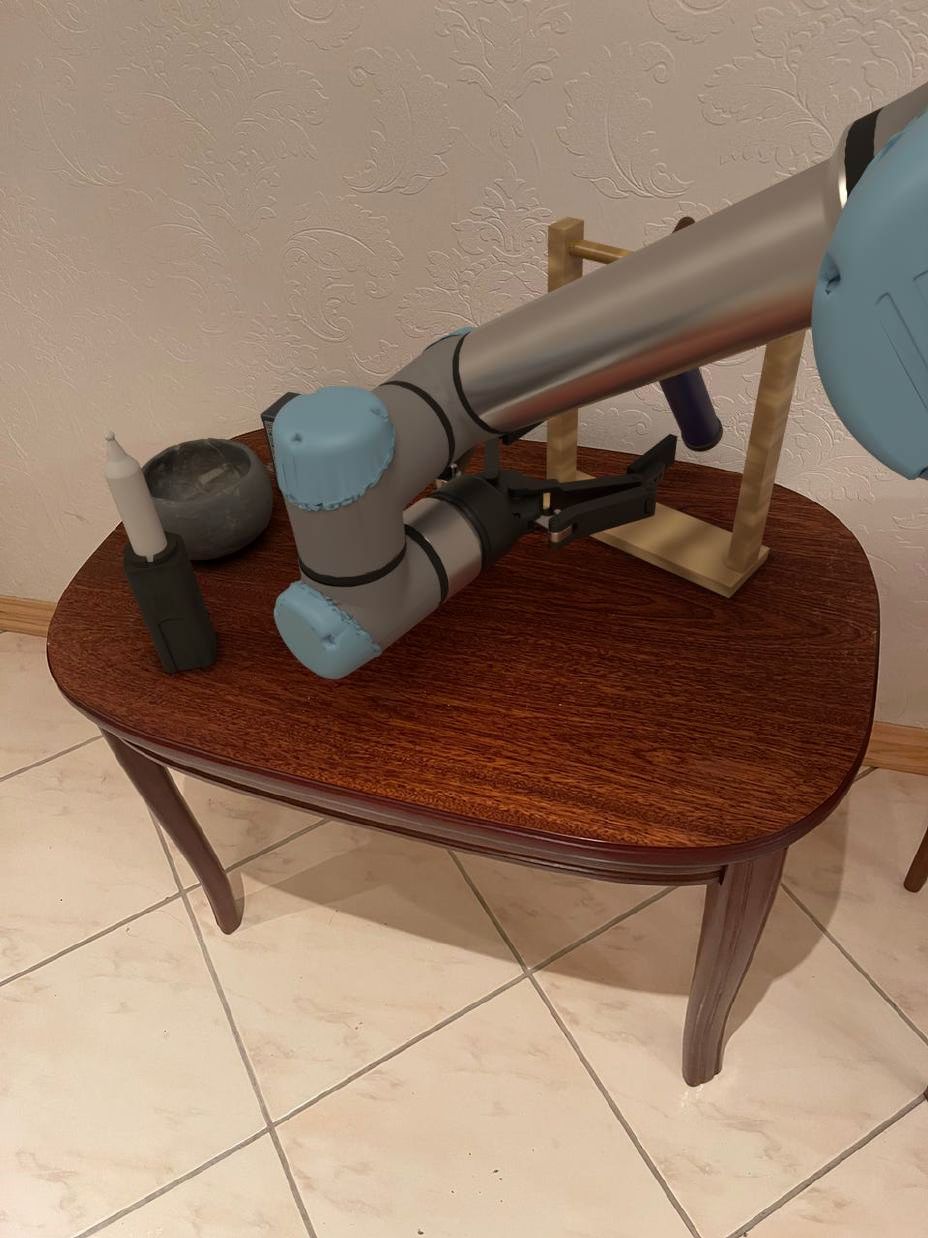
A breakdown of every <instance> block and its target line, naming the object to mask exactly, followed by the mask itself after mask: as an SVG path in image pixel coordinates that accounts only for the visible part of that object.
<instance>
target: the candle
mask: <svg viewBox="0 0 928 1238" xmlns="http://www.w3.org/2000/svg"><path fill="white" fill-rule="evenodd" d="M103 438H104V440H105V441H106V461H105V464H104V466H103V476H104V478H105V481H106V483H107V486H108V488H109V491H110V493H111V496H112V499H113V501H114V504H115V506H116V509H117V511H118V514H119V517H120V520H121V522H122V524H123V527H124V529H125V532H126V535H127V537H128V539H129V541H128V543H126V545H125V547H124V549H123V550H124V555H123V561H122V562H123V563H122V570H123V573H124V575H125V578H126V580H127V582H128V584H129V587H130V589H131V592H132V595H133V596H134V599H135V602H136V604H137V607H138V609H139V612H140V614H141V616H142V619H143V621H144V624H145V626H146V628H147V631H148V633H149V636H150V638H151V641H152V643H153V645H154V649H155V650H156V653H157V655H158V658H159V660H160V663H161V665H162V668H163V670H164V672H166V673H167V674H172V675H173V674H178V672H183V671H190V670H194V669H195V670H196V669H199V668H202V669H206V668H209V667H211V666H212V665H214V664H215V663H216V661H217V635H216V633H215V630H214V626H213V624H212V621H211V618H210V615H209V612H208V609H207V606H206V602H205V600H204V597H203V594H202V592H201V591H202V590H201V589H200V586H199V582H198V580H197V576H196V574H195V571H194V568H193V566H192V562H191V560H190V559H189V556H188V553H187V550H186V547H185V544H184V541H183V538H182V537H181V535H179V534H176V533H170V532H167V531H163V529H162V526H161V523H160V520H159V517H158V515H157V512H156V509H155V506H154V503H153V501H152V498H151V495H150V492H149V489H148V487H147V484H146V481H145V478H144V475H143V473H142V470H141V468H142V467H141V464H140V463H139V461H138V460H137V459H136V458H135V457H133V456H131V455H130V454H129V453H127V452H126V451H125V449H124V448H123V447H122V446H121V444H120V443H119V442H118V440H117V439H116V434H115V433H114V432H113V431H111V430H106V431H105V432H104V433H103Z"/></svg>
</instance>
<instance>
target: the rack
mask: <svg viewBox="0 0 928 1238" xmlns="http://www.w3.org/2000/svg"><path fill="white" fill-rule="evenodd" d="M584 235H585V220H584V219H579V218H575V217H572V216H565V217H563V218H561V219H559V220H557V221H555V222H553V223H551V224H549V225H548V226H547V293H549V292H551V291H554V290H556V289H558V288H560V287H562V286H564V285H566V284H568V283H570V282H572V281H574V280H577V279H579V278H581V277H583V274H584V273H583V272H584V271H583V269H584V260H586V261H592V262H594V263H597V264H603V265H605V266H606V265H608V264H610V263H612V262H614V261H616V260H618V259H620V258H622V257H624V256H627V255H629V254H631V253H633V252H635V251H633V250H630V249H626V248H620V247H617V246H612V245H608V244H604V243H599V242H596V241H591V240H587V239H585V238H584V237H585V236H584ZM806 333H807V330H806V331H803V332H800V333H797V334H795V335H792V336H789V337H786V338H783V339H780V340H777V341H774V342H771V343H768V344H765V351H764V356H763V362H762V367H761V372H760V377H759V378H760V379H759V384H758V388H757V389H758V390H757V395H756V401H755V406H754V410H753V418H752V421H751V422H752V423H751V428H750V433H749V439H748V445H747V450H746V456H745V462H744V467H743V472H742V478H741V483H740V489H739V495H738V500H737V505H736V511H735V515H734V516H735V517H734V521H733V528H732V532H731V531H729V530H727V529H723V528H721V527H719V526H716V525H714V524H712V523H709V522H706V521H704V520H701V519H699V518H696V517H695V516H691V515H689V514H686V513H684V512H681V511H680V510H676V509H674V508H671V507H670V506H667V505H664V504H662V503H659V502H657V501H656V509H655V515H654V516H652V517H649V518H645V519H642V520H639V521H635V522H632V523H629V524H625V525H622V526H619V527H615V528H612V529H609V530H605V531H602V532H599V533H595V534H592V535H589V536H588V537H591V538H593V539H595V540H597V541H600V542H602V543H604V544H607V545H609V546H611V547H613V548H615V549H618V550H620V551H621V552H624V553H627V554H629V555H631V556H634V557H635V558H638V559H640V560H643V561H645V562H647V563H649V564H651V565H654V566H656V567H658V568H659V569H662V570H665V571H667V572H670V573H672V574H674V575H676V576H678V577H681V578H683V579H685V580H687V581H690V582H691V583H694V584H696V585H698V586H700V587H702V588H705V589H707V590H709V591H711V592H714V593H716V594H719V595H721V596H723V597H725V598H728V599H730V598H731V597H732V596H733V595H734V594H735V593H736V592H737V590H739V589H740V588H741V587H742V585H743V584H744V583H745V582H746V581H747V580H748V579H750V577H751V576H752V575H753V574H754V573H755V572H756V571H757V570H758V569H759V568H760V567H761V566H762V565H763V564H764V563H765V562H766V561H767V560H768V556H769V552H770V547H768V546H766V545H763V544H762V542H763V537H764V532H765V529H766V528H765V527H766V523H767V518H768V514H769V508H770V504H771V500H772V495H773V489H774V484H775V480H776V476H777V471H778V466H779V462H780V457H781V452H782V447H783V442H784V437H785V432H786V430H787V429H786V428H787V424H788V419H789V414H790V409H791V405H792V400H793V396H794V390H795V386H796V380H797V376H798V371H799V366H800V362H801V357H802V352H803V347H804V343H805V338H806ZM578 428H579V409H576V410H573V411H570V412H567V413H564V414H562V415H559V416H556V417H553V418H550V419H548V420H546V479H557V480H558V481H559V482H561V483H563V482H571V481H578V480H586V479H594V478H596V476H592V475H590V474H587V473H585V472H583V471H580V470H578V469H577V464H578V463H577V462H578V461H577V459H578V434H579V433H578V432H579V431H578V430H579V429H578ZM549 506H550V493H544V505H543V509H547V508H549Z"/></svg>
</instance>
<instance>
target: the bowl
mask: <svg viewBox="0 0 928 1238" xmlns="http://www.w3.org/2000/svg"><path fill="white" fill-rule="evenodd" d="M141 470H142V473H143V475H144V478H145V481H146V484H147V487H148V489H149V492H150V495H151V498H152V501H153V503H154V506H155V509H156V512H157V515H158V517H159V520H160V523H161V526H162V529H163V531H167V532H170V533H176V534H179V535H181V537H182V538H183V541H184V544H185V547H186V550H187V553H188V556H189V559H190V561H191V560H192V561H208V560H209V561H210V560H216V559H219V558H222V557H226V556H228V555H232V554H234V553H236V552H238V551H241V549H244V548H246V546H248V545H250V544H251V543H252V542H254V541H255V540H256V539H257V538H258V537H259V536H260V535H261V534H262V533H263V532H264V531H265V529H266V528H267V526H268V525H269V523H270V520H271V518H272V511H273V506H274V505H273V503H274V495H273V493H274V492H273V485H272V481H271V478H270V475H269V473H268V470H267V468H266V467H265V465H264V463H263V461H262V460H261V459H260V458H259V456H258V455H257V453H255V452H254V450H253V449H252V448H250V447H249V446H248V445H245V444H243V443H241V442H239V441H235V440H231V439H226V438H214V437H208V438H199V439H193V440H187V441H182V442H180V443H178V444H174V445H171V446H168V447H166V448H165V449H163V450H162V451H160V452H158V453H157V454H155V455H154V456H153V457H151V458H150V459H149V460H147V462H145V463H144V465H142V467H141Z"/></svg>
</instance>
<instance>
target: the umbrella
mask: <svg viewBox="0 0 928 1238" xmlns="http://www.w3.org/2000/svg"><path fill="white" fill-rule="evenodd" d="M695 222H696V220H695V219H694V218H693V217H691V216H683V217H682V218H680V219H679V220H678V222H677V224H676V225H675V227H674V228H673V230H672V232H671V234H672V233H675V232H677V231H679V230H681V229H683V228H685V227H687V226H689V225H691V224H693V223H695ZM657 383H659V386H660V388H661V390H662V393H663V394H664V397H665V400H666V402H667V404H668V407H669V409H670V411H671V413H672V415H673V417H674V419H675V422H676V424H677V426H678V428H679V430H680V437H681V440H682V442H683V444H684V446H685V448H687V449H688V450H690V451H692V452H695V453H703V452H708V451H710V450H712V449H714V448H716V446H718V444H719V443H720V442H721V440H722V439H723V436H724V427H723V424H722V422H721V419H720V418H719V416H717V413H716V410H715V407H714V405H713V402H712V400H711V396H710V393H709V392H708V389H707V386H706V383H705V381H704V378H703V375H702V372H701V369H700V367H698V368H696V369H693V370H690V371H687V372H684V373H681V374H678V375H675V376H672V377H669V378H666V379H664V380H661V381H658V382H657Z"/></svg>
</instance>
